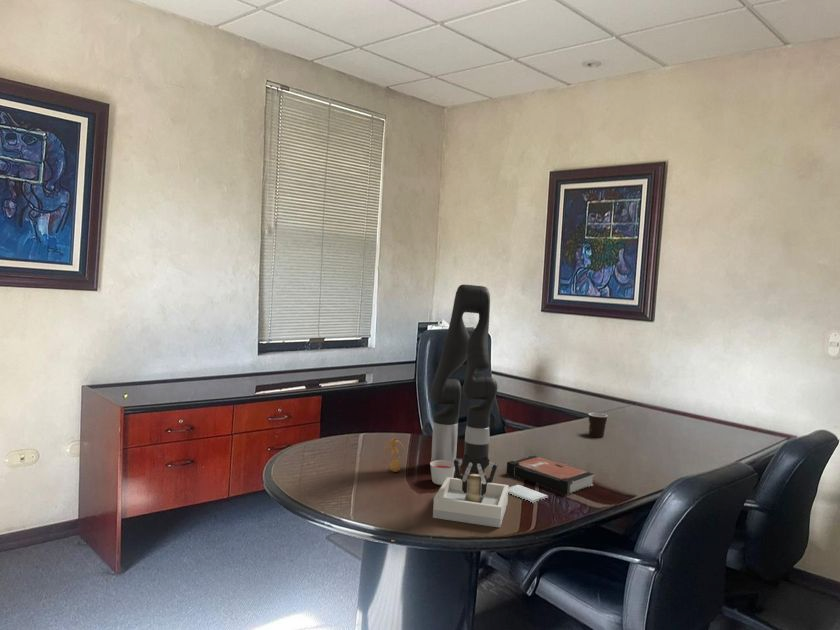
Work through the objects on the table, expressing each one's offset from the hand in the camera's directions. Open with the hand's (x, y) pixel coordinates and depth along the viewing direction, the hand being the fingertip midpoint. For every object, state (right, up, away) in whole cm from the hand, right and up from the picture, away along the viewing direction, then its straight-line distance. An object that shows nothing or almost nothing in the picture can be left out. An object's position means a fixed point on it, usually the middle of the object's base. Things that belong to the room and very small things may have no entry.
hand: (473, 493), depth 196 cm
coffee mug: (+66, -1, +98) cm, 118 cm away
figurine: (-26, -1, +31) cm, 41 cm away
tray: (-1, -4, -3) cm, 5 cm away
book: (+30, -4, +31) cm, 43 cm away
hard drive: (+18, -5, +14) cm, 23 cm away
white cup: (-9, -3, +22) cm, 24 cm away
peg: (0, -4, 0) cm, 5 cm away
